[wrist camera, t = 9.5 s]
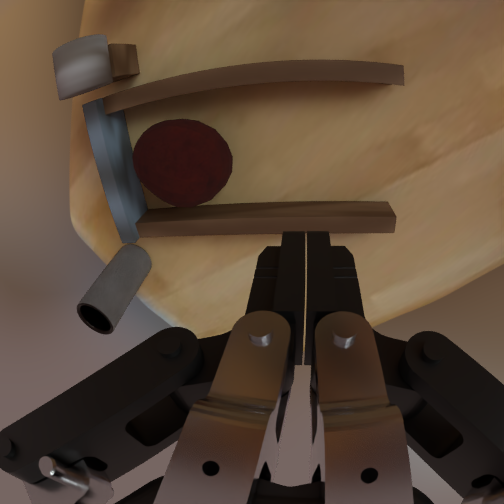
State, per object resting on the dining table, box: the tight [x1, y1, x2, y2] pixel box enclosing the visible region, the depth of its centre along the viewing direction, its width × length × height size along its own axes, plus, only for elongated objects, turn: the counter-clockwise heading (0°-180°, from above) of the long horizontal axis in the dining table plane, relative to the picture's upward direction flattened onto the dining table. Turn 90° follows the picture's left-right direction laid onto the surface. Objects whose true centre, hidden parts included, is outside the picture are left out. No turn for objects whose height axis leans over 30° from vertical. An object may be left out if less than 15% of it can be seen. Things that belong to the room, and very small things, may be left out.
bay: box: [52, 34, 404, 243], centre depth 19 cm, size 19×26×8 cm
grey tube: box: [77, 244, 151, 334], centre depth 29 cm, size 4×4×10 cm
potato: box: [132, 119, 232, 208], centre depth 22 cm, size 7×8×7 cm
